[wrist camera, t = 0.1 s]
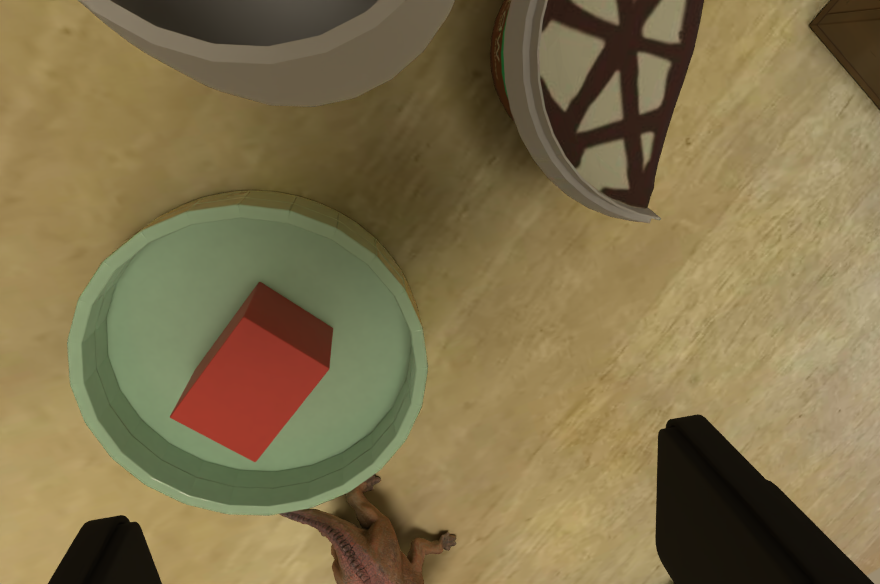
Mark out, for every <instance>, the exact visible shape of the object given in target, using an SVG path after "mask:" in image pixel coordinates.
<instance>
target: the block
mask: <svg viewBox="0 0 880 584" xmlns="http://www.w3.org/2000/svg"><path fill="white" fill-rule="evenodd" d="M332 337H333V328H332V327H331V326H329V325H327V324H326V323H324V322H323V321H321V320H320V319H318V318H316V317H315V316H313V315H312V314H310V313H309V312H307V311H305V310H304V309H302V308H301V307H299V306H298V305H296V304H294V303H293V302H291V301H290V300H288V299H287V298H285V297H283V296H282V295H280V294H279V293H277V292H276V291H274V290H272V289H271V288H269V287H268V286H266V285H265V284H263V283H261V282H259V283H258V284H257V285H256V287H255V288H254V289H253V291H252V292H251V294H250V295H249V296H248V298H247V299H246V300H245V302H244V303H243V304H242V306H241V307H240V309H239V310H238V311H237V313H236V314H235V315H234V317H233V318H232V320H231V321H230V322H229V324H228V325H227V326H226V328H225V329H224V331H223V332H222V333H221V335H220V336H219V337H218V339H217V340H216V341H215V343H214V344H213V346H212V347H211V348H210V350H209V351H208V352H207V354H206V355H205V357H204V358H203V359H202V361H201V362H200V363H199V365H198V366H197V368H196V369H195V370H194V372H193V374H192V376H191V378H190V380H189V382H188V384H187V385H186V387H185V389H184V391H183V393H182V395H181V397H180V398H179V400H178V402H177V404H176V406H175V408H174V410H173V411H172V413H171V415H170V418H171V419H173V420H175V421H177V422H179V423H181V424H183V425H185V426H187V427H188V428H190V429H192V430H194V431H196V432H198V433H200V434H202V435H204V436H206V437H208V438H209V439H211V440H213V441H215V442H217V443H219V444H221V445H223V446H225V447H227V448H228V449H230V450H232V451H234V452H236V453H238V454H240V455H242V456H244V457H246V458H247V459H249V460H251V461H253V462H256V461H257V460H258V459H259V458H260V456H261V455H262V454H263V453H264V451H265V450H266V449H267V447H268V446H269V445H270V444H271V442H272V441H273V440H274V439H275V437H276V436H277V435H278V434H279V432H280V431H281V430H282V429H283V427H284V426H285V425H286V423H287V422H288V421H289V420H290V418H291V417H292V416H293V415H294V413H295V412H296V411H297V410H298V408H299V407H300V406H301V405H302V403H303V402H304V401H305V399H306V398H307V397H308V396H309V394H310V393H311V392H312V391H313V389H314V388H315V387H316V386H317V384H318V383H319V382H320V381H321V379H322V378H323V377H324V375H325V374H326V373H327V372H328V370H329V368H330V358H331V347H332Z"/></svg>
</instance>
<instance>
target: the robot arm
mask: <svg viewBox="0 0 880 584" xmlns="http://www.w3.org/2000/svg"><path fill="white" fill-rule="evenodd" d="M656 548H657V552H658V555H659V558H660V560H661V562H662V564H663V565H664V567H665V569H666V570H667V572H668V574H669V575H670V577H671V579H672V580H673V582H674V583H675V584H874V583H873V582H872V581H871V580H870V579H869V578H868V577H867V576H866V575H865V574H864V573H863V572H862V571H861V570H860V569H859V568H858V567H857V566H856V565H855V564H854V563H853V562H852V561H851V560H850V559H849V558H848V557H847V556H846V555H845V554H844V553H843V552H842V551H841V550H840V549H839V548H838V547H837V546H836V545H835V544H834V543H833V542H832V541H831V540H830V539H829V538H828V537H827V536H826V535H825V534H824V533H823V532H822V531H821V530H820V529H819V528H818V527H817V526H816V525H815V524H814V523H813V522H812V521H811V520H810V519H809V518H808V517H807V516H806V515H805V514H804V513H803V512H802V511H801V510H800V509H799V508H798V507H797V506H796V505H795V504H794V503H793V502H792V501H791V500H790V499H789V498H788V497H787V496H786V495H785V494H784V493H783V492H782V491H781V490H780V489H779V488H778V487H777V486H776V485H775V484H773V483H772V482H771V481H768V480H766V479H765V478H764V477H763V476H762V475H761V474H760V473H759V472H758V471H757V470H756V469H755V468H754V467H753V466H752V465H751V464H750V463H749V462H748V461H747V460H746V459H745V458H744V457H743V456H742V455H741V454H740V453H739V452H738V451H737V450H736V449H735V448H734V447H733V446H732V445H731V444H730V443H729V442H728V441H727V440H726V439H725V437H724V436H723V435H722V434H721V433H720V432H719V431H718V430H717V429H716V428H715V427H714V426H713V425H712V424H711V423H710V422H709V421H708V420H707V419H706V418H705V417H703V416H702V415H693V416H687V417H681V418H675V419H670V420H669V421H668V422H667V424H666V428H665V429H661V430H660V431H659V434H658V462H657V502H656ZM48 584H162V582H161V580H160V577H159V575H158V572H157V569H156V567H155V564H154V561H153V559H152V556H151V553H150V551H149V548H148V545H147V543H146V540H145V537H144V535H143V532H142V529H141V527H140V525H139V524H138V523H137V522H131V523H130V521H129V519H128V518H127V517H126V516H122V515H120V516H115V517H109V518H103V519H97V520H92V521H88V522H86V523H85V524H84V525H83V526H82V528H81V529H80V531H79V533H78V534H77V536H76V538H75V539H74V541H73V543H72V544H71V546H70V548H69V549H68V551H67V553H66V554H65V556H64V558H63V559H62V561H61V563H60V564H59V566H58V568H57V569H56V571H55V573H54V574H53V576H52V578H51V579H50V581H49V583H48Z"/></svg>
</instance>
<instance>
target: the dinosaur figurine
mask: <svg viewBox="0 0 880 584" xmlns="http://www.w3.org/2000/svg"><path fill="white" fill-rule="evenodd" d="M380 480H381V478H379V477H375V474H374V475H373V476H371V477H370V478H368V479H367V480H366V481H364V482H363V483H361V484H360V485H359V486H357V487H356V488H354V489H353V490H352V491H350V492H348V494H347V496H346V499H347V502H348V504H350V505H351V506H352V507H353V509H354V510H355V512H356V516H357V519H358V521H359V523H360V525H361V527H362V528H359V527H358V526H356V525H354V524H352V523H350V522H349V521H346V520H343V519H341V518H339V517H337V516H334V515H332V514H329V513H326V512H323V511H320V510H317V509H303V510H298V511H292V512H286V513H281V514H280V515H282V516H284V517H287V518H289V519H291V520H294V521H297V522H301V523H302V524H308V525H310V526H312V527H314V528H316V529H318V530H319V532H321V535H322V536H326V538H328V540H329V541H330V542H331V543H332V546H331V554H332V555H333V557H334V559H335V560H334V562H333V565H332V569H333V572H334V577H335V580H336V582H337V584H424V580H423V577H422V565H423V561H424V556H425V555H427V554H432V553H434V554H440V553H442V552H443V549H445V550H450V546H454V545H456V542H455V541H454V540H456V536H454V535H449V533H446V534H444V535H442V536H441V537H440V539H439V541H433V542H430V541H427V540H425V539H422V538H418V537H417V538H415V539H414V540H413V541H412V543H411V548H410V551H409V553H408V556H407V557H406V556H405V555H404V554H403V553H402V552H401V550H400V548H399V543H398V541H397V537H396V534H395V531H394V528H393V526H392V524H391V522H390V520H389V519H388V517H386V516H384V515H383V514H382V513H381V512H380V511H379V510H378V509H377V508H376V507H375V506H373V505H372V504H371V503H370V502H369V501H368V500H367V499H366V497H365V496H364V495H363V493H365V492H367V491H371V490H373V489H374V488H373V485H375V484H376V483H378V482H380Z"/></svg>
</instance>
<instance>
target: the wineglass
mask: <svg viewBox="0 0 880 584" xmlns="http://www.w3.org/2000/svg"><path fill="white" fill-rule="evenodd" d="M78 1H79V2H81V3H82V4H83V5H84V6H85V7H86V8H88V9H89V10H90V11H91V12H92V13H93V14H95V15H96V16H97V17H98V18H99V19H100V20H102V21H103V22H104V23H105V24H106V25H108V26H109V27H110V28H111V29H113V30H114V31H115V32H117V33H118V34H119V35H120V36H122V37H123V38H124V39H126V40H127V41H128V42H130V43H131V44H133V45H134V46H136V47H137V48H139V49H140V50H142V51H144V52H145V53H147V54H148V55H150V56H152V57H154V58H156V59H158V60H159V61H161V62H163V63H165V64H167V65H168V66H170V67H172V68H174V69H176V70H178V71H179V72H181V73H183V74H185V75H187V76H189V77H190V78H192V79H194V80H196V81H198V82H200V83H202V84H204V85H206V86H208V87H211V88H213V89H216V90H218V91H222V92H225V93H229V94H232V95H236V96H239V97H243V98H246V99H250V100H253V101H257V102H260V103H264V104H268V105H275V106H302V107H316V106H321V105H325V104H330V103H334V102H339V101H344V100H348V99H353V98H356V97H358V96H360V95H362V94H364V93H366V92H368V91H370V90H372V89H374V88H376V87H377V86H379V85H381V84H383V83H385V82H387V81H389V80H391V79H393V78H394V77H395V76H396V75H397V74H398V73H399V72H400V71H402V70H403V69H404V68H405V67H406V66H407V65H408V64H410V63H411V62H412V61H413V60H414V59H415V58H416V57H418V56H419V55H420V54H421V53H422V52H423V51H424V50H425V48H426V47H427V45H428V44H429V42H430V41H431V40H432V38H433V37H434V35H435V34H436V32H437V31H438V29H439V28H440V27H441V25H442V24H443V22H444V21H445V19H446V18H447V16H448V15H449V13H450V11H451V9H452V6H453V4H454V1H455V0H78Z"/></svg>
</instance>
